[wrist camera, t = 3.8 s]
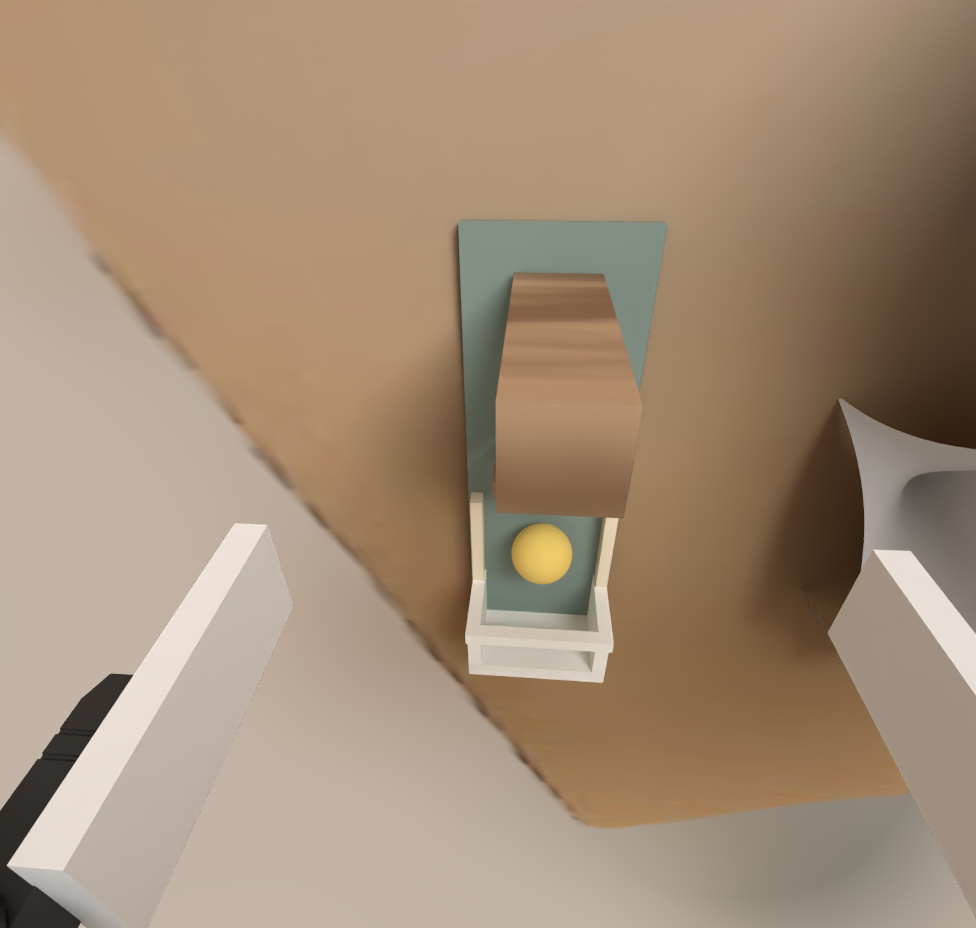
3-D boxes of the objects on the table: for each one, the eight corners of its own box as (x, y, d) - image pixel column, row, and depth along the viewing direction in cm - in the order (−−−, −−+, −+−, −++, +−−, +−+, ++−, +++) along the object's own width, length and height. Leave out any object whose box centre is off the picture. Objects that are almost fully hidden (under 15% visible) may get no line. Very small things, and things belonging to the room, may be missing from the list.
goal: (474, 568, 37) (465, 635, 32) (605, 575, 36) (613, 644, 32) (475, 618, 40) (467, 684, 35) (597, 625, 39) (604, 694, 35)
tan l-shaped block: (496, 272, 25) (466, 400, 15) (621, 273, 25) (673, 407, 15) (496, 461, 31) (475, 640, 21) (597, 465, 31) (622, 649, 21)
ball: (513, 509, 33) (510, 551, 30) (573, 512, 33) (576, 554, 30) (512, 552, 36) (509, 595, 33) (568, 555, 35) (571, 599, 32)
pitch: (459, 220, 25) (455, 228, 23) (665, 221, 24) (671, 230, 23) (474, 615, 40) (471, 633, 39) (598, 623, 40) (600, 641, 38)
